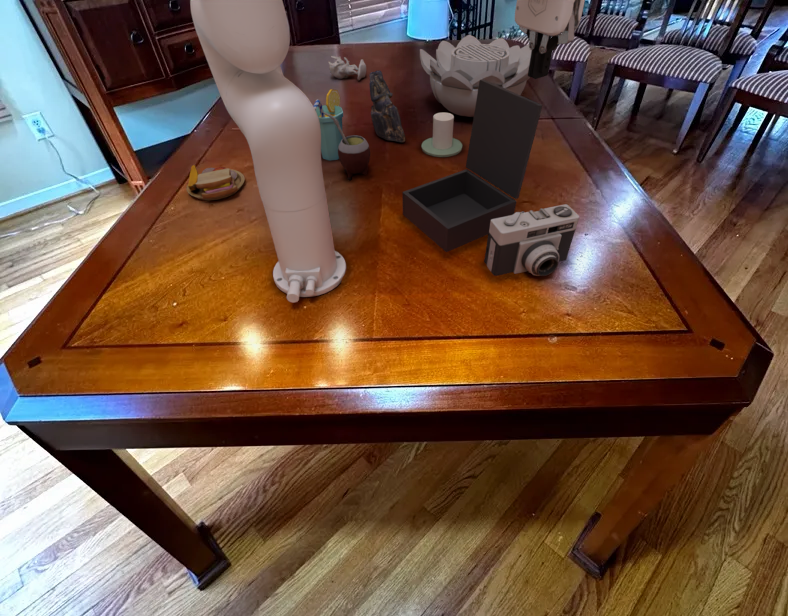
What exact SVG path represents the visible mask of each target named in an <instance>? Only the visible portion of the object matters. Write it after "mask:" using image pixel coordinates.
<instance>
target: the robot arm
mask: <svg viewBox="0 0 788 616" xmlns="http://www.w3.org/2000/svg"><path fill="white" fill-rule="evenodd" d="M189 4H190V14H191V18H192V19H191V20H192V22H193V26H194V29H195V32H196V35H197V37H198V41H199V43H200V45H201V49H202V51H203V54H204V56H205V59H206V62H207V64H208V67H209V69H210V72H211V74H212V77H213V80H214V83H215V85H216V88H217V90H218V93H219V95H220V98H221V100H222V103H223V105H224V108H225V109H226V111H227V113H228V115H229V116H230V118H231V119H232V120H233V122H234V123H235V125H236V126H237V127H238V129H239V130H240V132H241V134H242V135H243V136H244V138H245V139H246V142H247V144H248V147H249V151H250V153H251V158H252V164H253V170H254V176H255V180H256V184H257V189H258V192H259V196H260V199H261V200H260V201H261V202H262V205H263V209H264V213H265V216H266V220H267V224H268V228H269V231H270V234H271V239H272V243H273V245H274V246H273V247H274V250H275V253H276V257H277V260H278V261H277V262H276V263H275V265H274V267H273V270H272V276H273V277H272V278H273V281H274V283H275V285H276V287H277V288H278V289H279V290H280V291H281V292H283V293H285V294H286V297H285V298H286V300H287V301H288V302H289V303H298V301H300V298H312V297H316V296H320V295H323V294H327V293H329V292H331V291H332V290H334V289H335V288H337V287H338V286H339V285H340V284H341V283H342V280H343V278H344V276H345V275H346V272H347V263H346V260H345V258H344V256H343V255H342V254H341V253H340V252H339V251H337V250H335V243H334V238H333V237H334V236H333V231H332V225H331V218H330V211H329V206H328V199H327V193H326V186H325V181H324V180H325V179H324V175H323V174H324V173H323V167H322V166H323V165H322V153H321V129H320V122H319V119H318V116H317V113H316V111H315V108H314V107H313V105H314V104H313V103H312V102H311V100H310V99H309V98H308V96H307V95H306V94H305V93H304V92H303V91H302V90H301V89H300V88H299V87H298V86H297V85H295V83H293V82H292V81H290V79H288V78H287V77H286V76H284V73H283V70H282V67H281V65H282V64H283V62H284V61H285V59H286V57H287V55H288V52H289V50H290V49H289V48H290V44H291V33H290V25H289V20H288V16H287V12H286V9H285V5H284V1H283V0H189ZM584 7H585V0H516V4H515V9H514V22H515V23H516V25H517V26H518V27H519V30H520V31H521V32H522V33H523V34H525V35H526V37H527V39H528V44H529V49H530V50H532V52H531V58H530V64H529V70H528V76H529V77H530V78H532V79H534V80H538V79H541V78H544V77H547V76H548V75H549V71H550V68H551V67H550V66H551V61H552V56H553V52H554V51H556V50H557V48H558V47H559V46H560V45H567V44H570V43H573V42H574V39H575V31H576V30H577V29H578V28H579V25H580V23H581V19H582V15H583V11H584Z"/></svg>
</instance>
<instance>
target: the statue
mask: <svg viewBox="0 0 788 616" xmlns="http://www.w3.org/2000/svg"><path fill="white" fill-rule="evenodd" d="M368 77H369V97H370V100H371V102H372V105H371V107H370V108H371V109H370V110H371V111H370V118H371V121H372V125H373V129H374V131H375V134H376V135H377V136H378V137H379V138H381V139H383V140H385V141H392V142H396V143H397V142H398V143H404V142H405V141H406V134H405V132H404V128H403V125H402V119H401V116H400V113H399V109H398V107H397V106H396V105H394V103H393V102H392V100H391V98H392V97H393V92H391V90H390V88H389V86H388V83H387V82H386V80H385V79H384V75H383V72H382V70H380V69H379V70H375V71H371V72H369V76H368Z"/></svg>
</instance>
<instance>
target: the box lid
mask: <svg viewBox="0 0 788 616" xmlns="http://www.w3.org/2000/svg"><path fill="white" fill-rule="evenodd" d="M542 110H543V104H541V103H539V102H536V101H534V100H532V99H530V98H527V97H525V96H523V95H522V94H521V95H518V94H516V93H514V92H511V91H509V90H507V89H505V88H502V87H500V86H498V85H495V84H493V83H491V82H488V81H486V80H484V79H481V80H480V81H479V88H478V94H477V100H476V106H475V112H474V117H473V119H472V125H471V132H470V138H469V144H468V150H467V157H466V163H465V168H466V169H468V170H469V171H471V172H472V173H474V174H475V175H477V176H479V177H480V178H482V179H483V180H485V181H486V182H488V183H489V184H491V185H493V186H494V187H496V188H497V189H499V190H500V191H502V192H503V193H505V194H506V195H508V196H510V197H511V198H513V199H514V200H517V199H519V198H520V195H521V190H522V187H523V183H524V179H525V175H526V171H527V167H528V164H529V159H530V157H531V151H532V148H533V144H534V140H535V136H536V132H537V128H538V124H539V122H540V121H539V120H540V117H541V113H542Z"/></svg>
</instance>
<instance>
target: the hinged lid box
mask: <svg viewBox="0 0 788 616" xmlns="http://www.w3.org/2000/svg"><path fill="white" fill-rule="evenodd" d="M401 195H402V196H401V197H402V215H403V216H404V217H405V218H406V219H407V220H408V221H410V223H412V224H413V225H414V226H415V227H416V228H418V229H419V230H420V231H421V232H423V234H424V235H426V236H427V237H428V238H429V239H430V240H432V242H434V243H435V244H436V245H437V246H439V248H440V249H442V250H443V251H444V252H445V253H448V252H451V251H453V250H455V249H458V248H460V247H463V246H465V245H467V244H469V243H472V242H474V241H477V240H478V239H481V238H483V237H485V236H488V233H489V229H490V222H491V220H492V219H495V218H500V217H505V216H510V215H513V214H514V213H516V206H517V199H514V198H513V197H511V196H510V195H508V194H507V193H505V192H504V191H502V190H501V189H499V188H497V187H496V186H494V185H493V184H491V183H490V182H488V181H487V180H485V179H483V178H482V177H480V176H479V175H477V174H476V173H474V172H473V171H471V170H469V169H468V168H466V169H463V170H460V171H457V172H454V173H452V174H449V175H445V176H443V177H440V178H438V179H437V178H436V179H435V180H432V181H429V182H426V183H424V184H421V185H418V186H416V187H412V188H409V189H407V190H404V191H402V192H401Z"/></svg>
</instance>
